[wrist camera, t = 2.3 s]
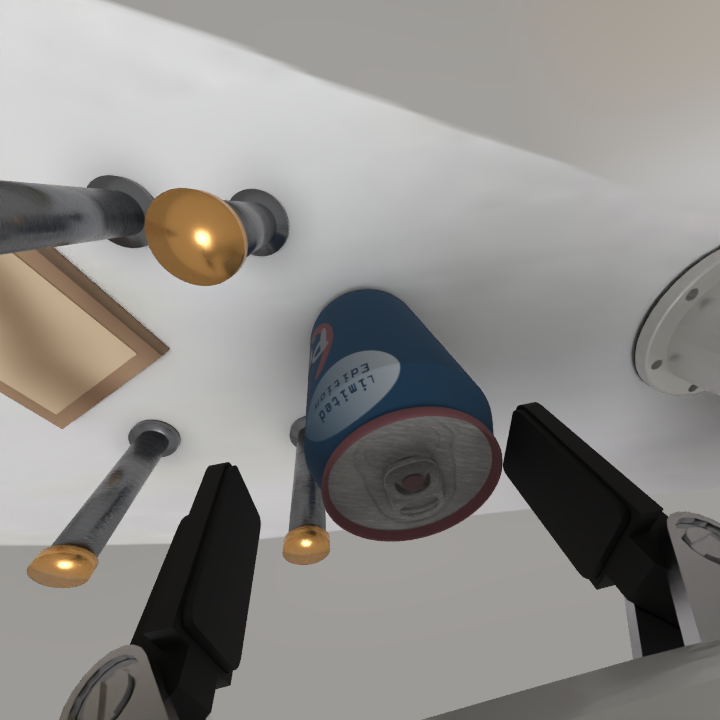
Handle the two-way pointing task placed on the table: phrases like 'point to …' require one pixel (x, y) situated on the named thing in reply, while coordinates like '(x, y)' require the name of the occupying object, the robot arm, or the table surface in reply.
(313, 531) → the post
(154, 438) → the post
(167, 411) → the table surface
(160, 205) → the post
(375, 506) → the soda can
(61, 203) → the post
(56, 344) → the walnut coaster
